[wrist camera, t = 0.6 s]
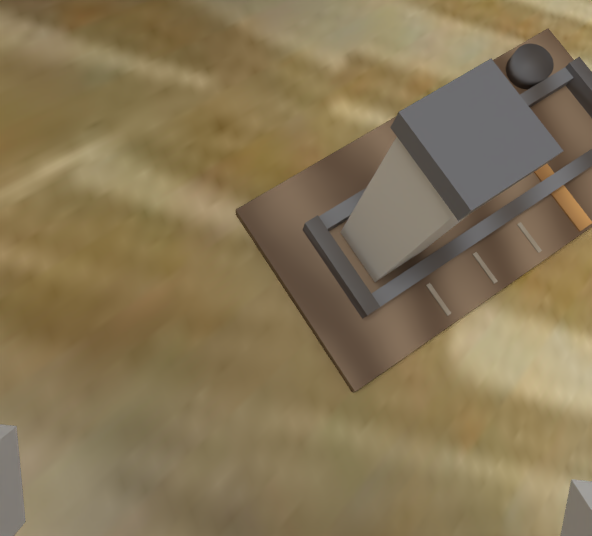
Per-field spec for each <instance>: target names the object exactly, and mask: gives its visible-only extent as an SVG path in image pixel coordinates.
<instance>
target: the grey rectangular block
mask: <svg viewBox="0 0 592 536" xmlns="http://www.w3.org/2000/svg"><path fill="white" fill-rule="evenodd" d="M390 128H391V129H392V131H393V132H394V133H395V135H396V136H397V137H396V139H395V140H394V142H393V144H392V145H391V147H390V149H389V151H388V152H387V154H386V156H385V157H384V159H383V161H382V162H381V164H380V166H379V167H378V169H377V171H376V173H375V174H374V176H373V178H372V179H371V181H370V183H369V184H368V186H367V188H366V190H365V191H364V193H363V195H362V196H361V198H360V200H359V201H358V203H357V205H356V207H355V208H354V210H353V212H352V213H351V215H350V217H349V218H348V220H347V222H346V224H345V225H344V227H343V229H342V230H341V232H340V233H341V234H342V235H343V237H344V238H345V240H346V241H347V243H348V244H349V246H350V247H351V249H352V250H353V252H354V253H355V254H356V256H357V257H358V259H359V260H360V262H361V263H362V265H363V266H364V268H365V269H366V270H367V272H368V273H369V275H370V276H371V278H372V279H373V281H374V282H376V281H378V280H379V279H381V278H382V277H384V276H385V275H387V274H388V273H390V272H391V271H393V270H395V269H396V268H398V267H399V266H401V265H402V264H404V263H405V262H407V261H408V260H410V259H411V258H413V257H414V256H416V255H417V254H419V253H421V252H422V251H424V250H425V249H426V248H427V247H429V246H430V245H431V244H432V243H434V242H435V241H436V240H437V239H439V238H440V237H441V236H443V235H444V234H445V233H446V232H448V231H449V230H450V229H451V228H453V227H454V226H455V225H456V224H458V223H459V222H460V221H462V220H463V219H464V218H465V217H467V216H468V215H469V214H470V213H472V212H473V211H475V210H476V209H478V208H479V207H481V206H482V205H484V204H486V203H487V202H489V201H490V200H492V199H493V198H495V197H496V196H498V195H499V194H501V193H502V192H504V191H506V190H507V189H509V188H510V187H512V186H513V185H515V184H516V183H518V182H519V181H521V180H522V179H524V178H526V177H527V176H529V175H530V174H532V173H533V172H535V171H536V170H538V169H539V168H541V167H542V166H544V165H546V164H547V163H548V162H550V161H551V160H552V159H554V158H555V157H556V156H558V155H559V154H560V153H562V152H563V150H562V148H561V147H560V146H559V144H558V143H557V142H556V141H555V139H554V138H553V137H552V135H551V134H550V133H549V132H548V130H547V129H546V128H545V127H544V125H543V124H542V123H541V121H540V120H539V119H538V118H537V116H536V115H535V114H534V112H533V111H532V110H531V109H530V107H529V106H528V105H527V104H526V102H525V101H524V100H523V98H522V97H521V96H520V95H519V93H518V92H517V91H516V89H515V88H514V87H513V86H512V84H511V83H510V82H509V80H508V79H507V78H506V77H505V75H504V74H503V73H502V72H501V70H500V69H499V68H498V66H497V65H496V64H495V63H494V61H493V60H492V59H489V60H488V61H486V62H484V63H483V64H481V65H479V66H477V67H476V68H474V69H472V70H470V71H469V72H467V73H465V74H464V75H462V76H460V77H458V78H457V79H455V80H453V81H451V82H450V83H448V84H446V85H445V86H443V87H441V88H439V89H438V90H436V91H434V92H432V93H431V94H429V95H427V96H426V97H424V98H422V99H420V100H419V101H417V102H415V103H413V104H412V105H410V106H408V107H407V108H405V109H403V110H401V111H400V112H399V113H398V114H397V116H396V118H395V120H394V122H393V124H392V125H391V127H390Z"/></svg>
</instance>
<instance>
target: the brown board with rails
mask: <svg viewBox="0 0 592 536" xmlns="http://www.w3.org/2000/svg"><path fill="white" fill-rule="evenodd" d="M493 61H494V63H495V64H496V65H497V66H498V68H499V69H500V70H501V72H502V73H503V74H504V75H505V77H506V78H507V79H508V80H509V82H510V83H511V84H512V86H513V87H514V88H515V89H516V91H517V92H518V93H519V95H520V96H521V97H522V98H523V100H524V101H525V102H526V104H527V105H528V106H529V107H530V109H531V110H532V111H533V112H534V114H535V115H536V116H537V118H538V119H539V120H540V121H541V123H542V124H543V125H544V127H545V128H546V129H547V130H548V132H549V133H550V134H551V135H552V137H553V138H554V139H555V141H556V142H557V143H558V144H559V146H560V147H561V148H562V150H563V152H562V153H560V154H559V155H558V156H556V157H555V158H554V159H552V160H551V161H550V162H548V163H547V164H546V165H544V166H542V167H541V168H539V169H538V170H536V171H535V172H533V173H532V174H530V175H529V176H527V177H526V178H524V179H522V180H521V181H519V182H518V183H516V184H515V185H513V186H512V187H510V188H509V189H507V190H506V191H504V192H502V193H501V194H499V195H498V196H496V197H495V198H493V199H492V200H490V201H489V202H487V203H486V204H484V205H482V206H481V207H479V208H478V209H476V210H475V211H473V212H472V213H470V214H469V215H468V216H467V217H465V218H464V219H463V220H462V221H460V222H459V223H458V224H456V225H455V226H454V227H453V228H451V229H450V230H449V231H448V232H446V233H445V234H444V235H443V236H441V237H440V238H439V239H437V240H436V241H435V242H434V243H432V244H431V245H430V246H429V247H427V248H426V249H425V250H424V251H422V252H421V253H419V254H417V255H416V256H414V257H413V258H411V259H410V260H408V261H407V262H405V263H404V264H402V265H401V266H399V267H398V268H396V269H395V270H393V271H391V272H390V273H388V274H387V275H385V276H384V277H382V278H381V279H379V280H378V281H376V282H374V281H373V279H372V278H371V276H370V275H369V273H368V272H367V270H366V269H365V268H364V266H363V265H362V263H361V262H360V260H359V259H358V257H357V256H356V254H355V253H354V252H353V250H352V249H351V247H350V246H349V244H348V243H347V241H346V240H345V238H344V237H343V235H342V234H341V233H340V232H341V230H342V229H343V227H344V225H345V224H346V222H347V220H348V218H349V217H350V215H351V213H352V212H353V210H354V208H355V207H356V205H357V203H358V201H359V200H360V198H361V196H362V195H363V193H364V191H365V190H366V188H367V186H368V184H369V183H370V181H371V179H372V178H373V176H374V174H375V173H376V171H377V169H378V167H379V166H380V164H381V162H382V161H383V159H384V157H385V156H386V154H387V152H388V151H389V149H390V147H391V145H392V144H393V142H394V140H395V139H396V137H397V136H396V135H395V133H394V132H393V131H392V129H391V128H390V127H391V125H392V124H393V122H394V120H395V118H396V117H394V118H393V119H391V120H389V121H388V122H386V123H384V124H382V125H381V126H379V127H377V128H375V129H374V130H372V131H370V132H369V133H367V134H365V135H363V136H362V137H360V138H358V139H356V140H355V141H353V142H351V143H350V144H348V145H346V146H344V147H343V148H341V149H339V150H338V151H336V152H334V153H332V154H331V155H329V156H327V157H325V158H324V159H322V160H320V161H319V162H317V163H315V164H313V165H312V166H310V167H308V168H307V169H305V170H303V171H301V172H300V173H298V174H296V175H294V176H293V177H291V178H289V179H288V180H286V181H284V182H282V183H281V184H279V185H277V186H276V187H274V188H272V189H270V190H269V191H267V192H265V193H263V194H262V195H260V196H258V197H257V198H255V199H253V200H251V201H250V202H248V203H246V204H245V205H243V206H241V207H239V208H238V209H236V215H237V217H238V218H239V220H240V222H241V223H242V225H243V226H244V228H245V229H246V231H247V232H248V234H249V235H250V237H251V238H252V240H253V241H254V243H255V244H256V246H257V247H258V249H259V251H260V252H261V254H262V255H263V257H264V258H265V260H266V261H267V263H268V264H269V266H270V267H271V269H272V270H273V272H274V273H275V275H276V276H277V278H278V280H279V281H280V283H281V284H282V286H283V287H284V289H285V290H286V292H287V293H288V295H289V296H290V298H291V299H292V301H293V302H294V304H295V305H296V307H297V309H298V310H299V312H300V313H301V315H302V316H303V318H304V319H305V321H306V322H307V324H308V325H309V327H310V328H311V330H312V331H313V333H314V334H315V336H316V338H317V339H318V341H319V342H320V344H321V345H322V347H323V348H324V350H325V351H326V353H327V354H328V356H329V357H330V359H331V360H332V362H333V363H334V365H335V367H336V368H337V370H338V371H339V373H340V374H341V376H342V377H343V379H344V380H345V382H346V383H347V385H348V386H349V388H350V389H351V391H352V392H356V391H357V390H359V389H360V388H361V387H363V386H364V385H366V384H367V383H369V382H370V381H371V380H373V379H374V378H376V377H377V376H379V375H380V374H381V373H383V372H384V371H386V370H387V369H389V368H390V367H392V366H393V365H394V364H396V363H397V362H399V361H400V360H402V359H403V358H404V357H406V356H407V355H409V354H410V353H412V352H413V351H414V350H416V349H417V348H419V347H420V346H422V345H423V344H424V343H426V342H427V341H429V340H430V339H432V338H433V337H434V336H436V335H437V334H439V333H440V332H442V331H443V330H445V329H446V328H447V327H449V326H450V325H452V324H453V323H455V322H456V321H457V320H459V319H460V318H462V317H463V316H465V315H466V314H467V313H469V312H470V311H472V310H473V309H475V308H476V307H477V306H479V305H480V304H482V303H483V302H485V301H486V300H487V299H489V298H490V297H492V296H493V295H495V294H496V293H497V292H499V291H500V290H502V289H503V288H505V287H506V286H508V285H509V284H510V283H512V282H513V281H515V280H516V279H518V278H519V277H520V276H522V275H523V274H525V273H526V272H528V271H529V270H530V269H532V268H533V267H535V266H536V265H538V264H539V263H540V262H542V261H543V260H545V259H546V258H548V257H549V256H550V255H552V254H553V253H555V252H556V251H558V250H559V249H560V248H562V247H563V246H565V245H566V244H568V243H569V242H571V241H572V240H573V239H575V238H576V237H578V236H579V235H581V234H582V233H583V232H585V231H586V230H588V229H589V228H591V227H592V72H591V71H590V69H589V68H588V67H587V66H586V64H585V63H584V62H583V61H582V60H581V58H580V57H578V58H577V59H575V60H574V59H573V58H572V57H571V56H570V55H569V53H568V52H567V51H566V50H565V48H564V47H563V46H562V45H561V43H560V42H559V41H558V40H557V39H556V37H555V36H554V35H553V34H552V32H551V31H550V30H549V29H546V30H544V31H543V32H541V33H539V34H537V35H536V36H534V37H532V38H531V39H529V40H527V41H525V42H524V43H522V44H520V45H518V46H517V47H515V48H513V49H512V50H510V51H508V52H506V53H505V54H503V55H501V56H500V57H498V58H496V59H494V60H493Z"/></svg>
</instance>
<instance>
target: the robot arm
mask: <svg viewBox="0 0 592 536" xmlns="http://www.w3.org/2000/svg"><path fill="white" fill-rule="evenodd" d="M25 522H26V521H25V510H24V500H23V489H22V479H21V468H20V457H19V447H18V436H17V426H11V425H0V536H14V535H15V534H16V532H17V531H18V530H19V529H20V528H21V527H22V525H23V524H24V523H25ZM561 536H592V481H582V480H572V479H571V483H570V489H569V494H568V499H567V504H566V509H565V515H564V520H563V525H562V530H561Z"/></svg>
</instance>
